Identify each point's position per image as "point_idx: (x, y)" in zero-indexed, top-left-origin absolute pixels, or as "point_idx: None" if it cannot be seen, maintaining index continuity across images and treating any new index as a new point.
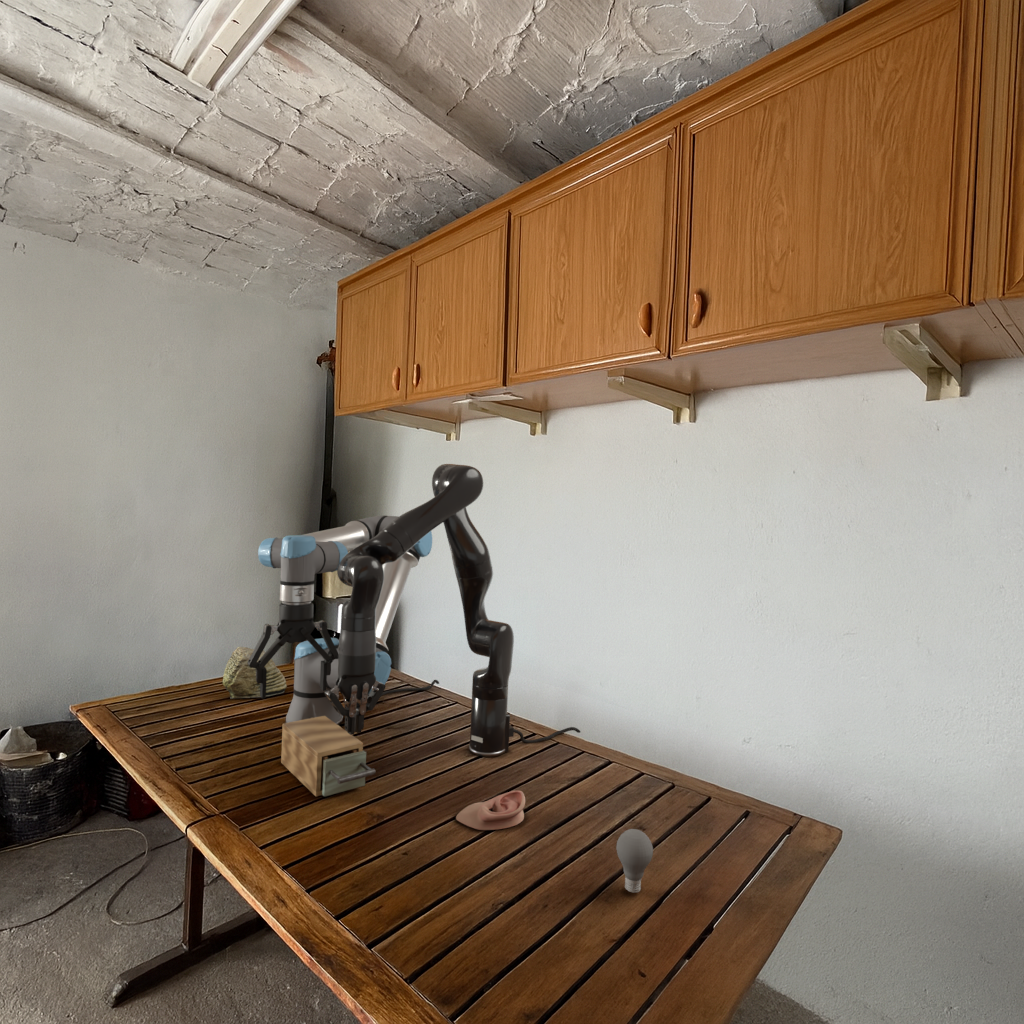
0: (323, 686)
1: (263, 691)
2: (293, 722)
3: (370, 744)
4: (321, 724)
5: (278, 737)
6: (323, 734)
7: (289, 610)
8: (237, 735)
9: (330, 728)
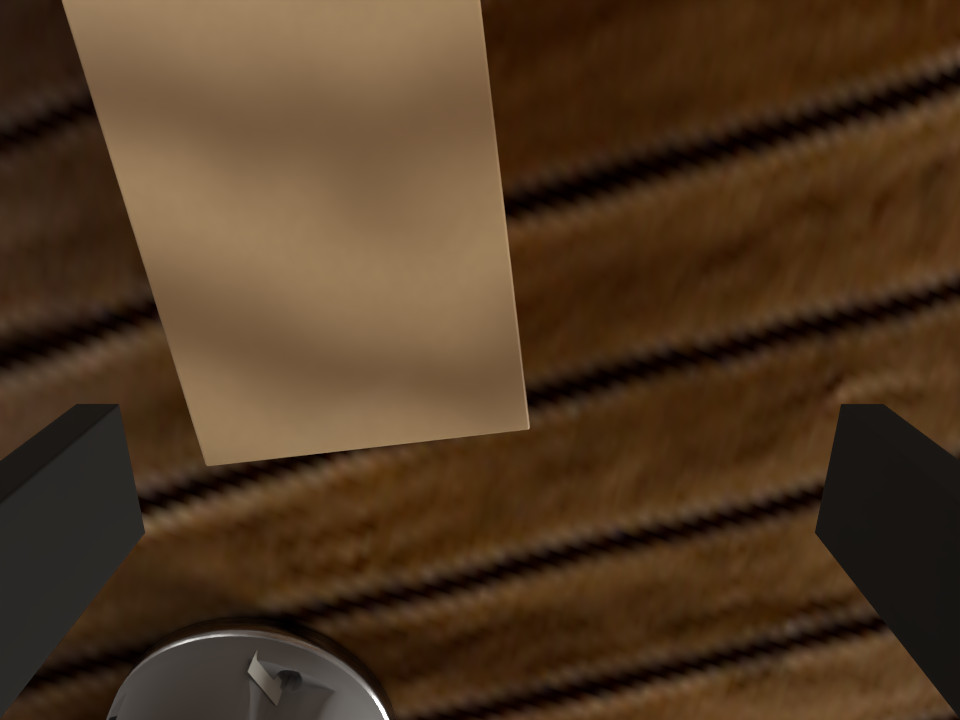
0: (82, 432)
1: (925, 447)
2: (451, 419)
3: (16, 368)
4: (259, 295)
5: (456, 628)
6: (281, 54)
7: None
8: (619, 712)
9: (202, 172)
